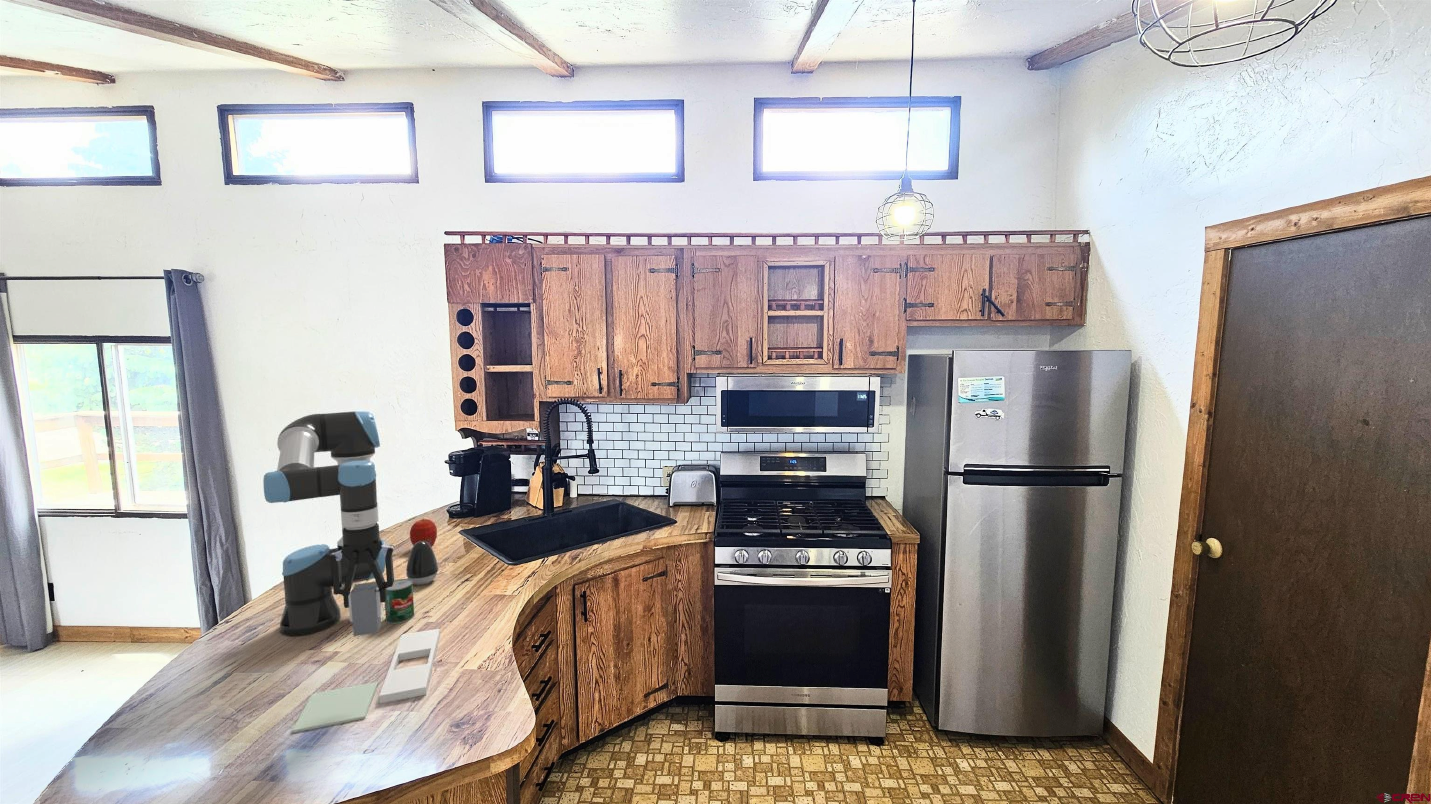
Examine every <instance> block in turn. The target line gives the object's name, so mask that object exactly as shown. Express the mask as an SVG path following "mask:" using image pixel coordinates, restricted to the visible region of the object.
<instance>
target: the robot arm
mask: <svg viewBox="0 0 1431 804" xmlns="http://www.w3.org/2000/svg"><path fill="white" fill-rule="evenodd" d="M376 423H377V422H376V420H375V416H374V415H373V413H372V412H370V411H357V410H356V411H354V410H353V411H344V412H343V411H342V412H341V411H340V412H329V413H327V412H326V413H313V414H312V413H311V414H308V415H305V416H303V417H300V418H297V419H296V420H293V421H292V422H291V423H289V424H288V425H286V426H285V427H284V428H283V429H282V430H281V432H279V434H278V437H277V441H276V442H277V449H278V451H279V455H278V456H279V457H278V463H277V470H274V471H269V472H266V473H265V474H264V475H263V485H262V486H263V495H264V500H265V501H266V503H269V504H274V503H288V502H295V501H303V500H310V499H318V498H326V497H334V496H339V503H340V504H339V505H340V517H341V519H340V520H341V532H342V533H341V534H342V537H341V538H340V539H339V540H338V541H337V542H336V544H337V545H336V546H337V547H335V548H330V546H329V545H327V544H325V543H322V544H314V545H310V546H306V547H303V548H300V549H297V550H296V551H293V552H291V553H290V554H288V555H287V556H285V558H284V559H283V561H282V572H281V575H282V576H283V577H282V578H283V587H284V588H283V589H284V591H283V592H284V599H285V600H284V601H285V603H284V604H285V605H284V609H283V611H282V616H281V619H280V622H279V631H280V634H282V635H284V636H287V637H298V636H305V635H310V634H311V635H312V634H314V633H317V632H320V631H324V630H325V629H328V628H330V627H332V626H334V625H335V624H337V623H338V622H339V621H340V619H341V618H342V617H341V616H342V615H341V608H340V606H339V604H338V603H337V601H336V599H335V596H334V595H336V596H337V595H341V596H343V607H344V608H345V609H347V608H348V613H349V622H350V623H353V620H352V606H351V591H352V588H353V583H359V582H364V581H366V582H367V581H370V580H372V579H374V580H375V582H376V583H377V586H378V589H377V591H376V601H377V617H381V618H382V616H383V613H384V610H383V603H385V601H386V598H387V594H386V588H388V587H392V585H393V583H394V580H395V573H394V559H393V553H394V550H395V546H394V545H393V544H391V545H387V542H386V540H385V539H381V534H380V525H379V523H378V522H379V509H378V508H379V507H378V496H377V493H378V491H377V471H376V467H375V462H373V461H371V458H372V457H373V456H374V455H375V454H376V449H377V448H380V446H381V441H380V436H379V433H378V429H377V424H376ZM326 452H327V453H328V452H330V457H331V459H333V460H334V461H335V462H337V464H334V465H326V466H316V467H315V453H326ZM384 572H385V574H386V580H385V577H384Z"/></svg>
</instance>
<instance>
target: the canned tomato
mask: <svg viewBox="0 0 1431 804" xmlns="http://www.w3.org/2000/svg"><path fill="white" fill-rule="evenodd" d="M413 585H414V584H413V581H412V580H410V579H408V578H401V579H394V583H393V585H392V587H388V588H386V594H387V598H386V601H385V602H384V612H385V622H386V623H387V624H393V625H395V624H396V625H397V624H401V623H406V622H408V621H410V620H411V619H412V618H414V617H415V603H414V602H415V601H414V589H413V588H414V587H413Z"/></svg>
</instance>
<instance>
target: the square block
mask: <svg viewBox="0 0 1431 804" xmlns="http://www.w3.org/2000/svg"><path fill="white" fill-rule="evenodd" d="M377 589H378V586H377V583H376V581H371V582H370V581H369V582H363V583H356V584H354V586H352V588H351V590H350V592H351V606H352V620H353V622H352V633H353V637H359V636H364V635H370V634H376V633H378V632H379V630H380V628H381V624H382V616H381V617H377V601H376V591H377Z"/></svg>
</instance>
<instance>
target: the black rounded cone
mask: <svg viewBox="0 0 1431 804" xmlns="http://www.w3.org/2000/svg"><path fill="white" fill-rule="evenodd" d="M430 541H431V539H428V540H427V541H426V542H425V541H419V542H417V543H415V544H414V546H413V545H412V548H411V550H410V551H409V555H408V558H407V564H406V571H405V572H406V577H407V579H410V580H412V581H413V583H412V585H416V586H424V585H427V584H429V583H432V582H433V581H434V580H435V578H436V577H437V575H438V571H439V565H438V561H437V557H436V555H435V552H434V550H433V547H431V546H430V545H429V543H430Z"/></svg>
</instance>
